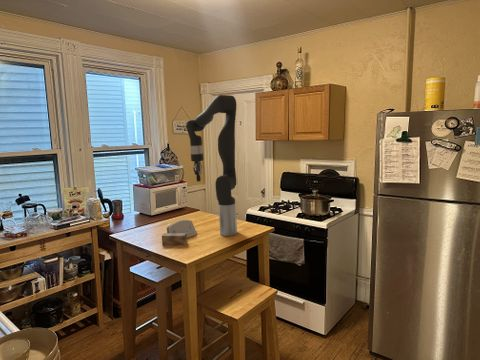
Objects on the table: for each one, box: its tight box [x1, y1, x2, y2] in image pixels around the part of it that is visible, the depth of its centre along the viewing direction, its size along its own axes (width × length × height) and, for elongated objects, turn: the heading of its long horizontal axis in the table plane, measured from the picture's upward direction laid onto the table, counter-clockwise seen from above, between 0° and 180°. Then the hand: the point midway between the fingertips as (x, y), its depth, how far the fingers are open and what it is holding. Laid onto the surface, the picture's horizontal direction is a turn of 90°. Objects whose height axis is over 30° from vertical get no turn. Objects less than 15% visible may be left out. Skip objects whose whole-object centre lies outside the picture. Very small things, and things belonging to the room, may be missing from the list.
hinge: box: [166, 219, 198, 238], centre depth 179 cm, size 17×5×10 cm, turn 134°
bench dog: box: [161, 232, 188, 246], centre depth 168 cm, size 12×4×5 cm, turn 84°
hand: (198, 181), depth 199 cm, fingers closed
